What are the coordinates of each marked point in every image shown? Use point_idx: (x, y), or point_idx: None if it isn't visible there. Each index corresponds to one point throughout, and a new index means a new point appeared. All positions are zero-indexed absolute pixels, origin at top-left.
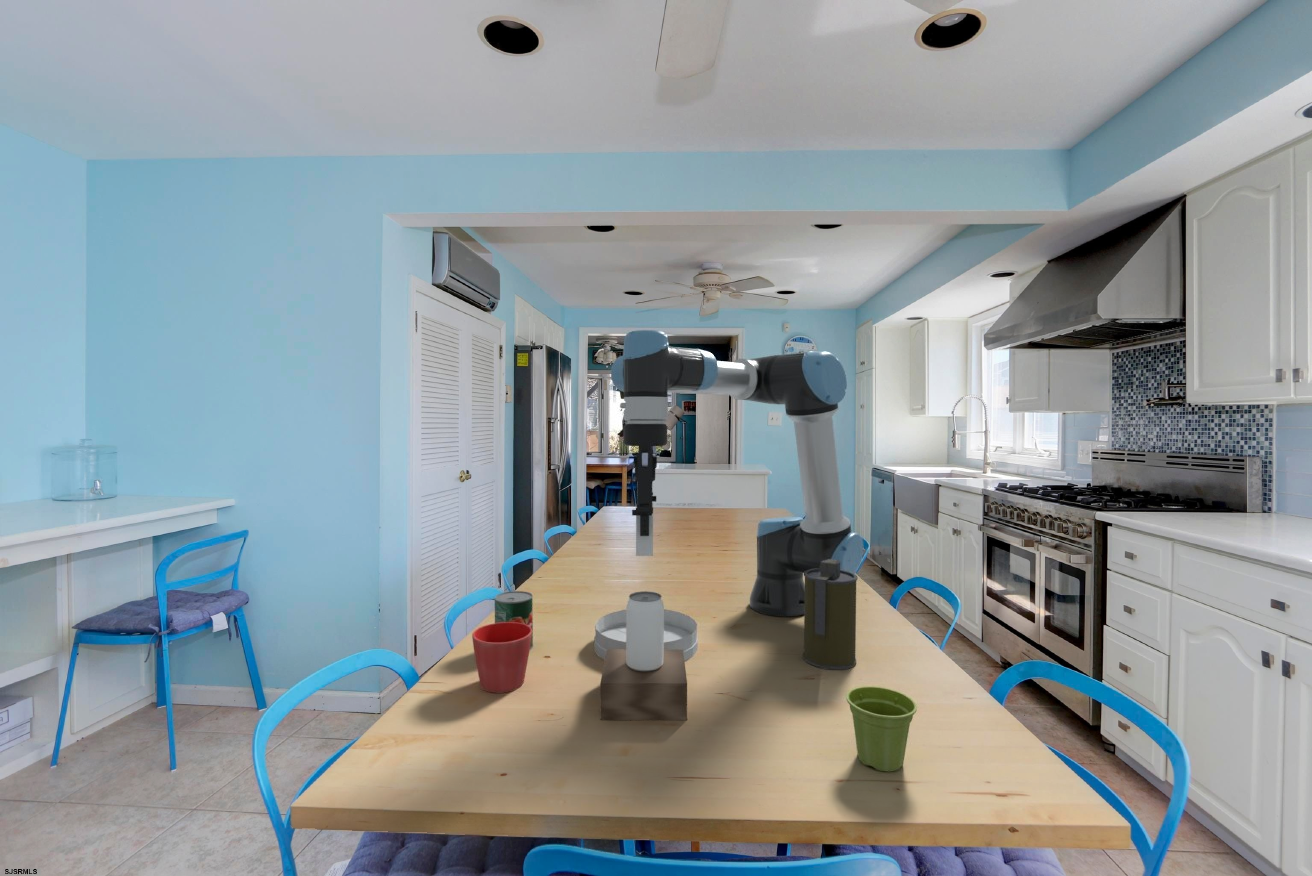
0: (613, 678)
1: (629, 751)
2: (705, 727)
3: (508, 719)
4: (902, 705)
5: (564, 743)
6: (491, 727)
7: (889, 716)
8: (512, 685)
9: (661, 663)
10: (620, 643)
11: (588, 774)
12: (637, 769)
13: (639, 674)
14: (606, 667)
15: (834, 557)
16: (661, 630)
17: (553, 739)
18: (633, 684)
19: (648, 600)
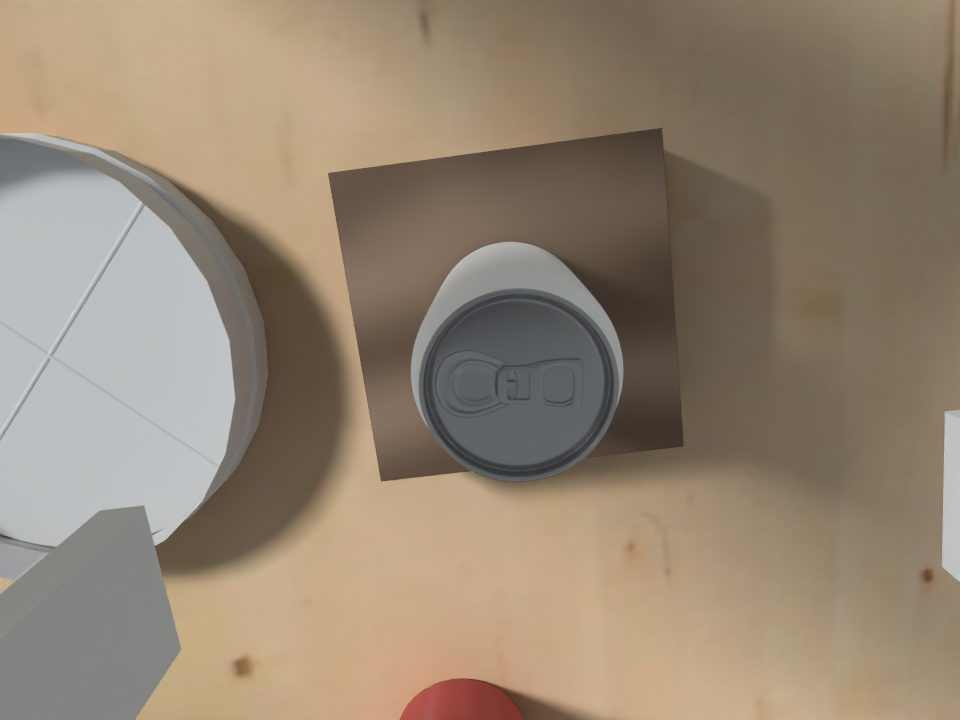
0: (640, 409)
1: (821, 292)
2: (674, 70)
3: (670, 648)
4: None
5: (786, 474)
6: (714, 675)
7: None
8: (508, 703)
9: (536, 246)
10: (228, 445)
11: (930, 379)
12: (909, 256)
13: None
14: None
15: None
16: (550, 261)
17: (767, 507)
18: (675, 331)
19: (577, 359)
